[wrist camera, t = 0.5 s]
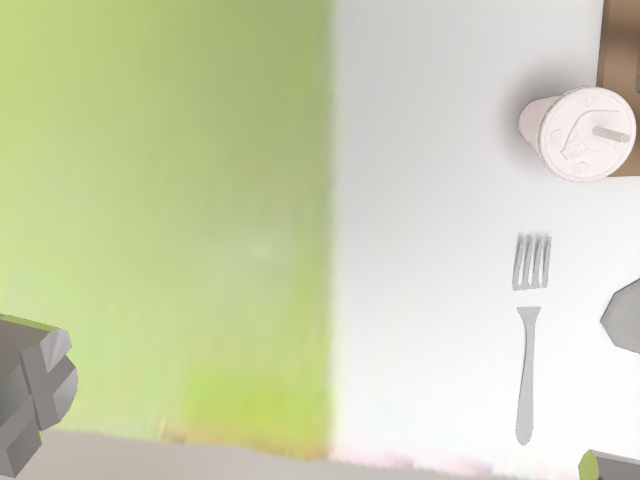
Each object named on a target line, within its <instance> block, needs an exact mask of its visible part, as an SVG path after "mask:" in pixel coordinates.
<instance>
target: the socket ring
mask: <svg viewBox="0 0 640 480" xmlns="http://www.w3.org/2000/svg"><path fill="white" fill-rule="evenodd" d="M635 89H637V90H639V91H638V92H637V93H636V94H637V95H638V96H639V97H640V46H639V55H638V65H637V74H636V83H635Z"/></svg>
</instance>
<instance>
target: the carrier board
mask: <svg viewBox="0 0 640 480" xmlns="http://www.w3.org/2000/svg"><path fill="white" fill-rule="evenodd" d="M639 46H640V0H604V8H603V19H602V30H601V41H600V52H599V63H598V74H597V85H596V87H600V88H604V89H607V90H610V91H613V92H615V93H616V94H618V95H620V96H621V97H622V98H623V99H624V100H625V101H626V102H627V103H628V104H629V106H630V107H631V109H632V111H633V114H634V117H635V121H636V138H635V142H634V145H633V148H632V150H631V152H630V154H629V156H628V157H627V159H626V160H625V161H624V163H623V164H622V165H621V166H620V167H619V168H618V169H617V170H616V171H614V172H613V173H611V174H610V175H608V176H606V177H618V176H640V97H639V96H638V95H637V94H636V93H637V92H638V91H639V90H637V89H635V83H636V74H637V65H638V55H639Z"/></svg>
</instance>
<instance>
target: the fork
mask: <svg viewBox="0 0 640 480" xmlns="http://www.w3.org/2000/svg"><path fill="white" fill-rule="evenodd" d="M542 238H543V237H540V240H539V244H538V248H537V252H536V259H535V265H534V272H533V282H532V284H531V285H529V284H528V273H529V266H530V260H531V253H532V246H533V237H531V240H530V244H529V247H528V251H527V256H526V262H525V268H524V273H523V280H522V284H521V285H520V287H519V285H518V275H519V269H520V264H521V259H522V253H523V247H524V239H525V237H522V241H521V244H520V248H519V251H518V256H517V261H516V266H515V271H514V276H513V282H512V284H513V290H514V291H515V290H525V289H536V288H540V287H539V285H540V284H539V282H538V272H539V264H540V256H541V247H542ZM550 247H551V237H549V239H548V244H547V248H546V252H545V261H544V269H543V283H542V284H541V285H542V287H547V282H548V268H549V257H550ZM529 286H530V287H529ZM540 309H541V307H518V308H517V310H518V312H519V314H520V315H521V317H522V319H523V321H524V324H525V327H526V335H527V347H526V357H525V366H524V373H523V379H522V385H521V391H520V396H519V403H518V411H517V422H516V436H517V440H518V442H519V443H520V444H521V445H522V446H523V445H526V444H527V443H528V441H529V440H530V438H531V435H532V430H533V355H534V335H535V322H536V318H537V315H538V313H539V311H540Z"/></svg>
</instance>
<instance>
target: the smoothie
mask: <svg viewBox="0 0 640 480" xmlns="http://www.w3.org/2000/svg"><path fill="white" fill-rule="evenodd" d="M518 126H519V131H520V133H521V135H522V136H523V138H524V139H525V140H526V141H527V142H528V143H529V144H530V145H531V146H532V147H533V148H534V149H535V150H536V151H537V152H538V156H539V158H540V160H541V161H542V163H543V165H544V166H545V167H546V168H547V169H548V170H549V171H550V172H551V173H552V174H554V175H556V176H558V177H560V178H562V179H565V180H569V181H573V182H592V181H596V180H599V179H602V178H604V177H606V176H608V175H610V174H611V173H613V172H614V171H616V170H617V169H618V168H619V167H620V166H621V165H622V164H623V163H624V161H625V160H626V159H627V157H628V156H629V154H630V152H631V150H632V148H633V145H634V142H635V138H636V121H635V117H634V114H633V111H632V109H631V107H630V106H629V104H628V103H627V102H626V101H625V100H624V99H623V98H622V97H621V96H620V95H618V94H616V93H615V92H613V91H610V90H607V89H604V88H600V87H594V86H586V87H577V88H575V89H572V90H569V91H566V92H565V93H563V94H562V95H559V96H554V97H548V98H543V99H538V100H535V101H533V102H531V103H529V104H528V105H527V106H526V107H525V108H524V109H523V110H522V112H521V114H520V117H519V122H518Z"/></svg>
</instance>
